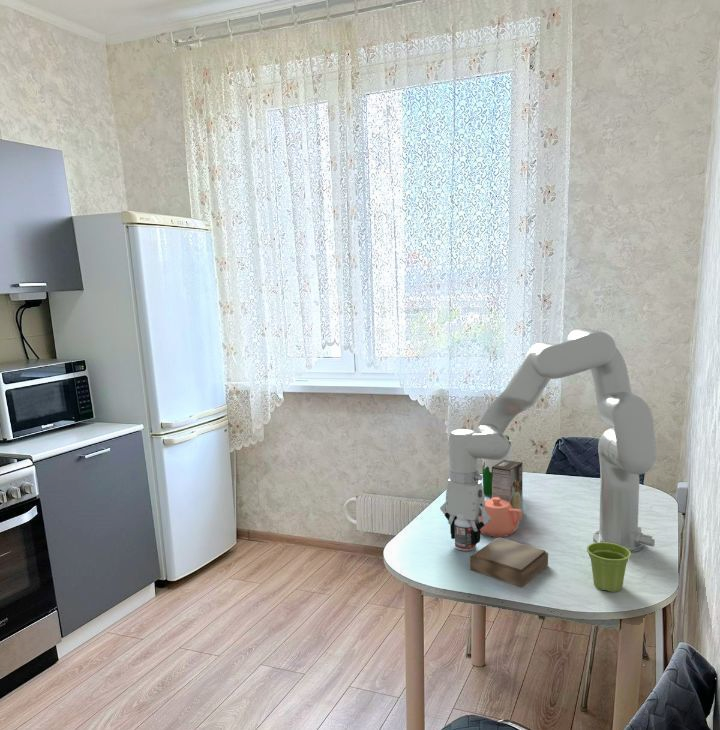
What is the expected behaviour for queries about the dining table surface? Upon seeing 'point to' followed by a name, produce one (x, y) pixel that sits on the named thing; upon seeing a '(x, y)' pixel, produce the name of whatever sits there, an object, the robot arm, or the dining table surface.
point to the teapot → (500, 518)
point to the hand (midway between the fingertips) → (465, 539)
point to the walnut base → (509, 561)
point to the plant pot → (608, 565)
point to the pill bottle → (463, 534)
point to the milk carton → (488, 471)
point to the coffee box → (508, 483)
